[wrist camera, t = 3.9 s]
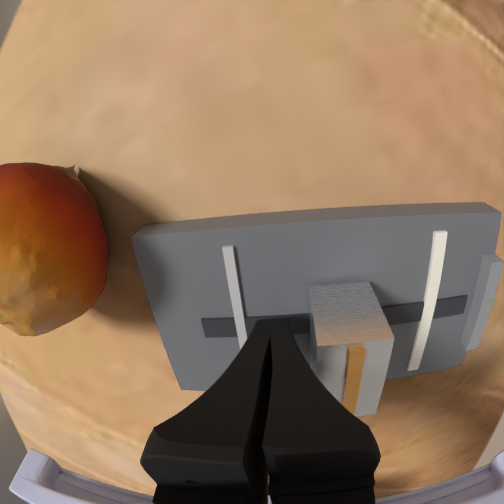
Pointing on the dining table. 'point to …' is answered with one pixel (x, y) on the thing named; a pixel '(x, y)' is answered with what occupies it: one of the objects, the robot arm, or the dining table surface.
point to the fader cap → (349, 344)
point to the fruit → (48, 248)
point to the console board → (321, 279)
